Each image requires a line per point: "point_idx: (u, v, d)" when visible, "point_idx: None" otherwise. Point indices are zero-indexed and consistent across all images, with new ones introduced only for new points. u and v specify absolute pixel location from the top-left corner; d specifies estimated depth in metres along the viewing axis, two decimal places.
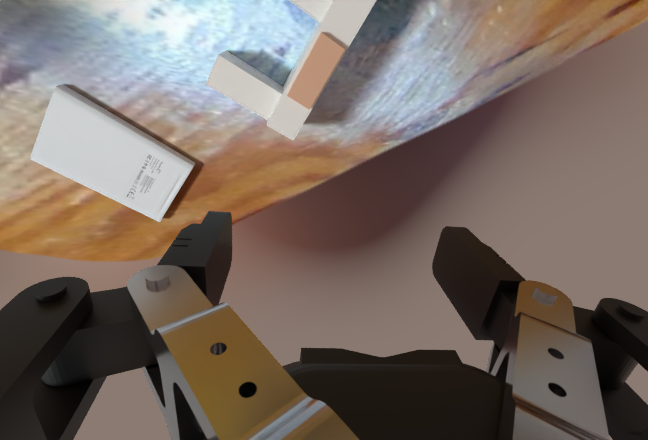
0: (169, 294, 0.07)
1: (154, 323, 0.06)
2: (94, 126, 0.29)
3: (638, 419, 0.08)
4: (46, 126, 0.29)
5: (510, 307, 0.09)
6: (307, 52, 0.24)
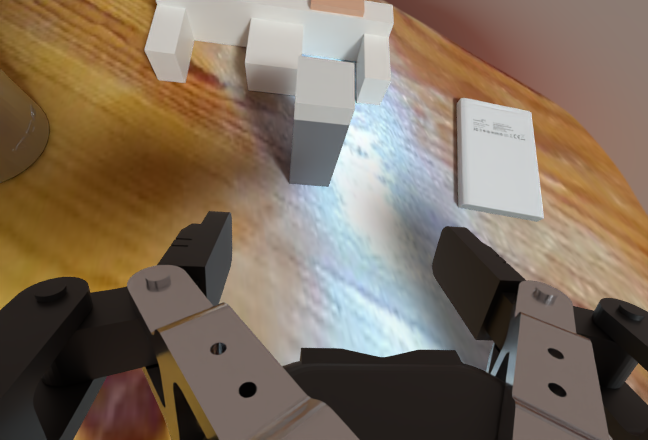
0: (168, 294, 0.07)
1: (154, 323, 0.06)
2: (477, 171, 0.32)
3: (638, 419, 0.08)
4: (503, 206, 0.31)
5: (510, 307, 0.09)
6: (327, 13, 0.30)
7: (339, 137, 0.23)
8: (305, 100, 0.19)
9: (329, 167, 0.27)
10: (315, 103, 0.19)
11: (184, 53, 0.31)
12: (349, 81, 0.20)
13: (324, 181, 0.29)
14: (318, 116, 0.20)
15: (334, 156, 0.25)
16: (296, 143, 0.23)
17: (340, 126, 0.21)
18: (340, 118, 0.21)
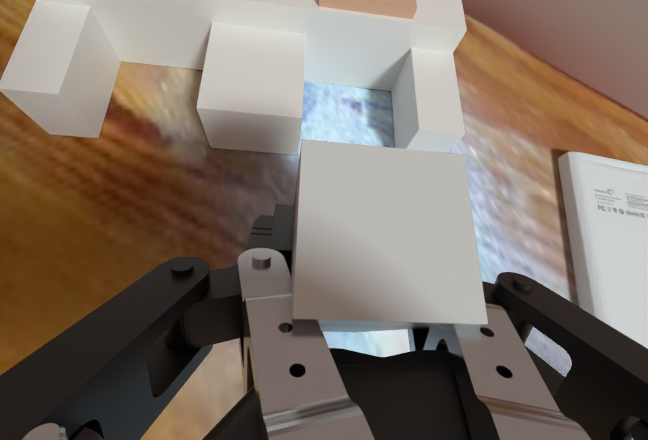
0: (265, 273, 0.08)
1: (275, 293, 0.07)
2: (618, 290, 0.18)
3: (542, 378, 0.08)
4: None
5: None
6: (350, 12, 0.17)
7: (406, 327, 0.09)
8: (327, 305, 0.06)
9: (364, 330, 0.13)
10: (362, 313, 0.06)
11: (93, 86, 0.17)
12: (458, 218, 0.07)
13: (349, 331, 0.15)
14: (362, 323, 0.07)
15: None
16: None
17: (420, 326, 0.08)
18: (429, 325, 0.07)
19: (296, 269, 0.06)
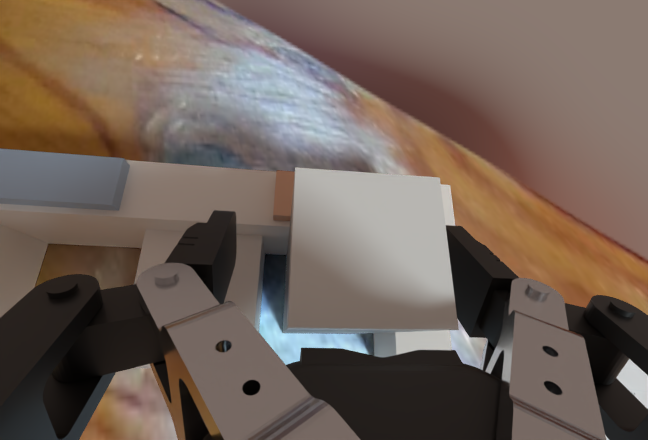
0: (176, 291, 0.07)
1: (164, 319, 0.06)
2: None
3: (630, 415, 0.08)
4: None
5: (503, 304, 0.09)
6: None
7: (393, 331, 0.10)
8: (318, 315, 0.07)
9: None
10: (349, 321, 0.07)
11: (0, 308, 0.14)
12: (433, 236, 0.08)
13: (345, 333, 0.16)
14: (351, 329, 0.08)
15: (373, 332, 0.12)
16: None
17: None
18: (409, 330, 0.08)
19: (291, 284, 0.07)
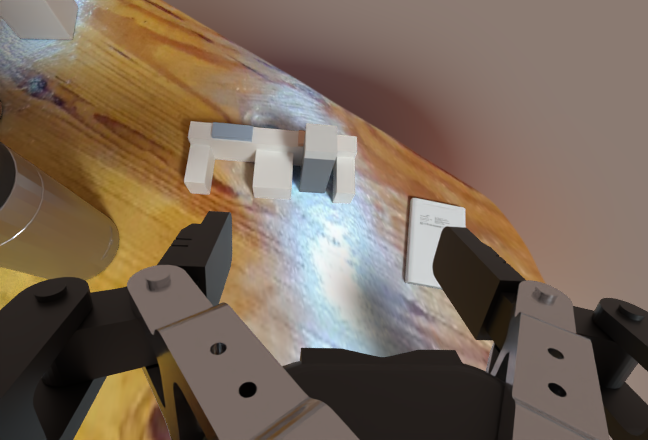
0: (168, 294, 0.07)
1: (154, 323, 0.06)
2: (420, 256, 0.44)
3: (638, 419, 0.08)
4: (436, 283, 0.43)
5: (510, 307, 0.09)
6: None
7: (330, 166, 0.39)
8: (310, 149, 0.36)
9: (324, 182, 0.43)
10: (316, 150, 0.36)
11: (209, 175, 0.44)
12: (334, 137, 0.37)
13: (321, 190, 0.46)
14: (317, 156, 0.37)
15: (327, 175, 0.42)
16: (305, 169, 0.40)
17: (330, 160, 0.38)
18: (330, 157, 0.37)
19: (305, 144, 0.36)
